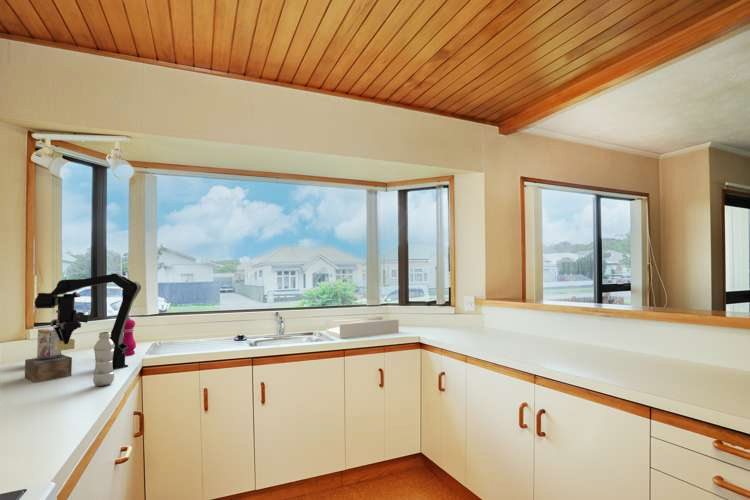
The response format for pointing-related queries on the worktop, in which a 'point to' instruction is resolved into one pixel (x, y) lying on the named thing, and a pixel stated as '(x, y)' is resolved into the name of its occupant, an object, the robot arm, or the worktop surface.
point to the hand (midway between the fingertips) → (64, 343)
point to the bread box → (361, 327)
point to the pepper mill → (129, 337)
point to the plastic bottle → (104, 360)
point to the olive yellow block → (64, 345)
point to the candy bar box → (47, 343)
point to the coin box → (48, 368)
